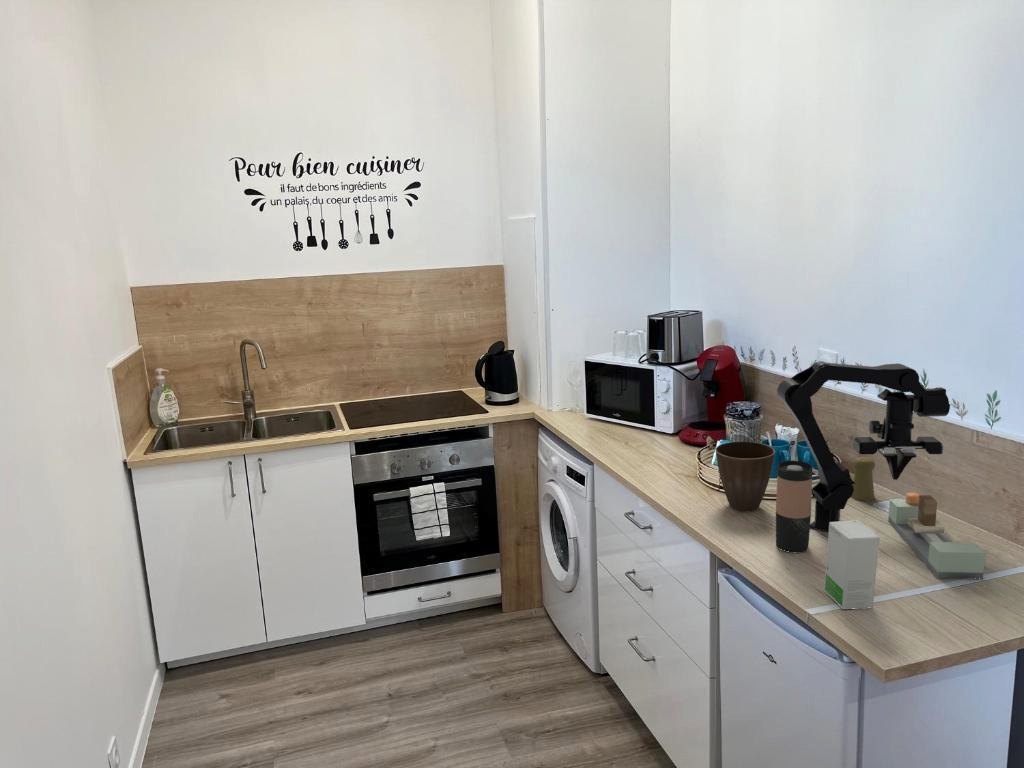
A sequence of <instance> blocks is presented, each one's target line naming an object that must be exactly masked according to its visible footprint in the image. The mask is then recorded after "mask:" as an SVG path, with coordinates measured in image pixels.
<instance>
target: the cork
mask: <svg viewBox="0 0 1024 768" xmlns="http://www.w3.org/2000/svg"><path fill="white" fill-rule="evenodd" d="M875 464H876V463H875V461H874V459H872V458H871V457H867V456H859V457H856V458H855V459H854V460H853V468H854V469H855V470H854V475H853V479H852V481H854V482H855V484H852V485H853V487H854V492H853V494H852V496H851V497H850V498H851V499H854V500H856V501H861V502H871V501H874V500H875V499H876V498H875V488H874V479H873V476H874V475H873V470H875V467H876V465H875Z"/></svg>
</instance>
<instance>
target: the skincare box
mask: <svg viewBox="0 0 1024 768" xmlns="http://www.w3.org/2000/svg"><path fill="white" fill-rule="evenodd" d="M880 540H881V539H880V536H879V535H877V534H876V533H875V532H873V531H872V530H871V527H869V526H866V525H865V524H863V523H862V522H861V521H860V520H859V519H853V520H842V521H841V520H840V521H838V522H829V532H828V537H827V549H826V550H827V551H826V559H825V560H826V561H825V571H824V572H825V573H824V585H823V591H824V593H825V594H827V596H830V597H831V598H832V599H833V600H834V601H836V602H837V603H838V604H839V605H840V606H841V607H842V608H843V609H852V608H867V609H869V608H868V607H873V608H874V596H875V586H876V578H877V568H878V567H877V566H878V559H879V547H880ZM830 597H829V598H830ZM831 598H830V599H831ZM834 601H833V602H834Z"/></svg>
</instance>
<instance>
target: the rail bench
mask: <svg viewBox="0 0 1024 768" xmlns="http://www.w3.org/2000/svg"><path fill="white" fill-rule="evenodd" d="M918 507H919V505H910V504H907V503H906V498H904V499H903V498H902V499H901V498H897V499H896V498H895V499H894V498H890V499H889V507H888V508H889V509H888V521H887V522H888V523H889V525H890V526H891V527H892V528H893V529H894V530H895V532H896V533H897V534H898V535H899V536H900V537H901V539H902V540H903V541H904V542H905V543H906V544H907V545H908V547H909V548H910V549H911V550H912V551H913V552H914V553H915V555H916V556H917V557H918V558H919V559H920V561H921V562H922V563H923V564H924V566H925V567H926V568H927V569H928V570H929V571H930V572H931V573H932V575H933V576H935V578H936V579H946V580H947V579H951V580H954V578H955V579H956V578H973V579H972V580H984V572H985V563H986V551H984V550H983V549H982V547H980V546H979V545H978V544H977V543H976V542H965V541H964V542H960V541H959V542H957V541H956V542H953V540H952V539H950V538H949V537H948V535H946V534H945V532H944V533H916V532H915V531H914V530H913V529H912V528H911V527H910V525H909V524H908V520H909V518H918ZM937 512H938V511H936V513H937ZM974 578H976V579H974ZM979 578H980V579H979ZM956 580H957V579H956Z"/></svg>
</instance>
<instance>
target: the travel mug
mask: <svg viewBox="0 0 1024 768" xmlns="http://www.w3.org/2000/svg"><path fill="white" fill-rule="evenodd" d="M812 488H813V465H812V464H810V463H808V462H805V461H802V460H783V461H781V462H779V463H778V464H777V478H776V497H775V499H776V502H775V546H776V548H777V547H778V548H780V549H782V550H785V551H789V552H802V553H805V552H807V551H808V550H809V544H810V543H809V542H810V530H811V527H810V524H811V521H812V519H811V517H812V497H813V496H812ZM778 548H777V549H778ZM780 549H779V550H780ZM807 549H808V550H807ZM782 550H781V551H782ZM806 550H807V551H806ZM785 551H784V552H785ZM804 551H805V552H804ZM789 552H788V553H789Z"/></svg>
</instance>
